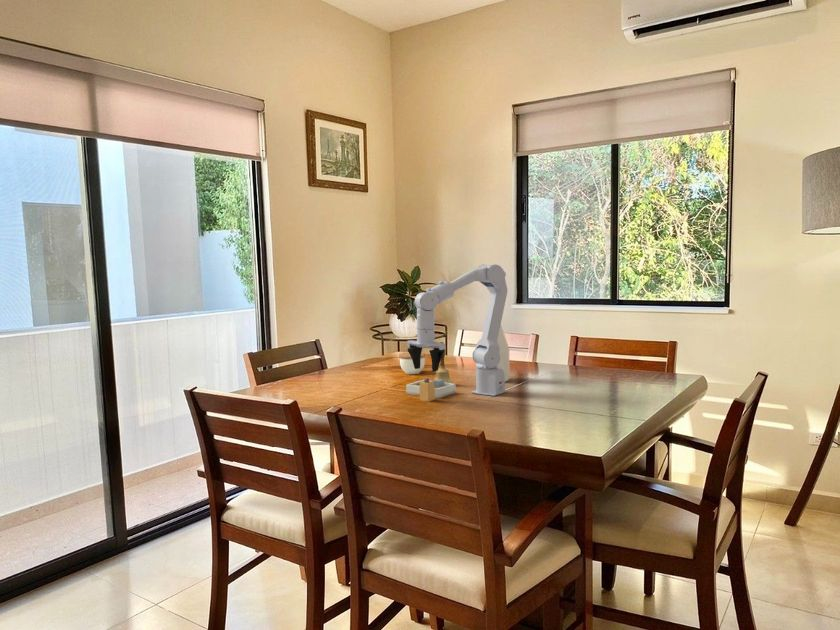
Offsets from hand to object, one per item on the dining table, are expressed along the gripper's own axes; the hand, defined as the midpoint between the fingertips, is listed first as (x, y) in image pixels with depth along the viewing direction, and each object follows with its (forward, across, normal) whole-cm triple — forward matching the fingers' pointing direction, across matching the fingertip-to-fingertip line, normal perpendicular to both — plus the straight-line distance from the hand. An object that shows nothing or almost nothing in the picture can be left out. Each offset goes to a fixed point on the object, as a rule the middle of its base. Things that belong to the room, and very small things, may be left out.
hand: (426, 369), depth 202 cm
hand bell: (+10, -10, +22) cm, 26 cm away
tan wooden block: (+10, 0, 0) cm, 10 cm away
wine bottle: (+10, +3, +40) cm, 41 cm away
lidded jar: (+10, -35, +35) cm, 51 cm away
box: (+10, -5, +8) cm, 14 cm away
